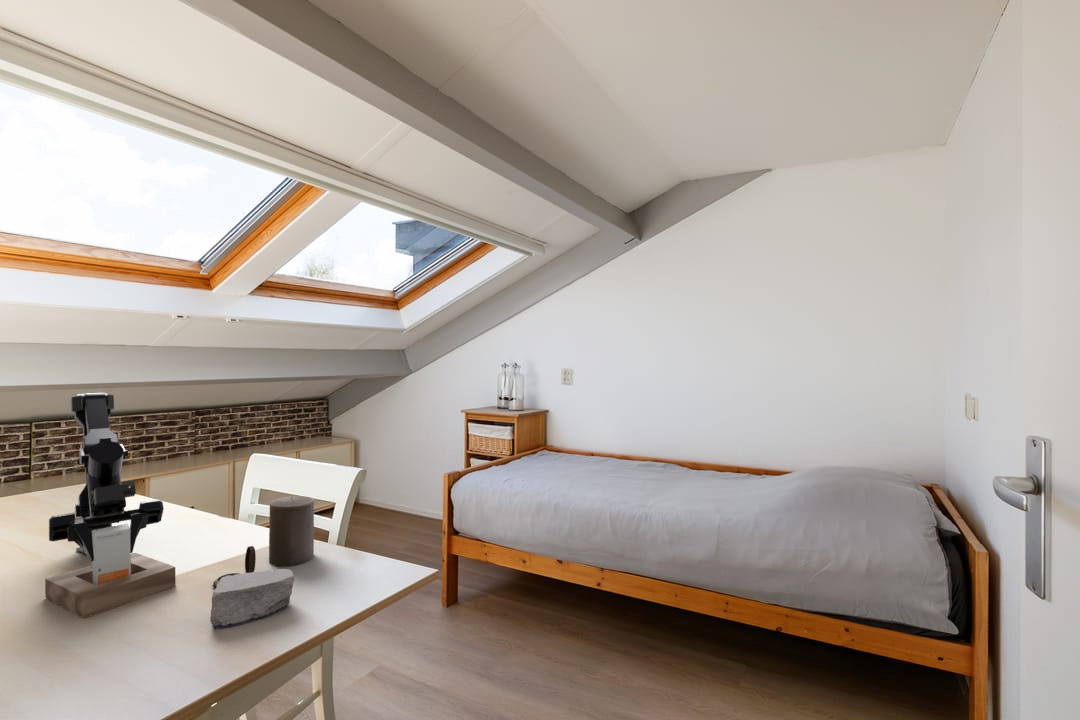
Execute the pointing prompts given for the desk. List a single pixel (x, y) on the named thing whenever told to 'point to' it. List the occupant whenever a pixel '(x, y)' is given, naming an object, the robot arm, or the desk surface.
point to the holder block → (108, 586)
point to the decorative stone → (250, 597)
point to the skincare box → (111, 553)
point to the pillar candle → (291, 530)
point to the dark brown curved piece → (249, 564)
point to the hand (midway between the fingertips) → (112, 556)
